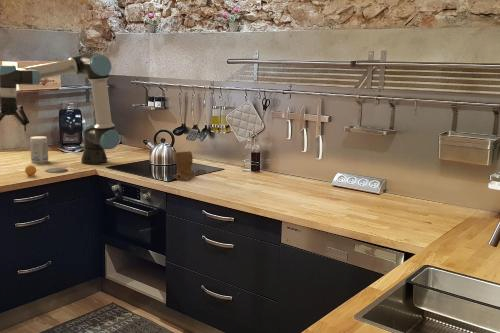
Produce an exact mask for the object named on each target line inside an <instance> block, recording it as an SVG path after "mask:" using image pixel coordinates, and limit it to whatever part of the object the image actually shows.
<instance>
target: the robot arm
mask: <svg viewBox="0 0 500 333" xmlns="http://www.w3.org/2000/svg"><path fill="white" fill-rule="evenodd" d="M111 71H112V62H111V60H110V59H109V57H107V56H106V55H104V54H101V53H85V54H80V55H76V56H72V57H69V58H68V59H65V60H60V61H55V62H47V63H44V64H43V63H41V64H37V65H36V64H35V65H31V66H26V67H20V68H17V67H16V65H14V64H13V65H11V64H1V65H0V111H1V112H0V122H1V121H2V119H3V118H4V117H6V116H14V117H15V118H16V119H17V120H18V122H19V123H20V125H19V130H20V131H19V133H20V134H19V135H20V138H23V139H25V132H26V131H27V128H26V126H27V125H28V124H30V121H29V118H28V116H27V114H26V113H25V110H24V106H23V105H18V101H17V99H18V98H17V94H18V93H17V85H18V86H19V85H21V86H22V85H25V86H27V85H28V86H37V85H40V84H41V81H42V80H43V79H48V78H53V77H59V76H64V75H69V74H73V75H86V76H87V80H88V81H89V82H90V84H91V91H92V99H93V106H94V115H95V116H94V117H95V123H96V124H85V125H84V126H83V153H82V156H81V159H80V162H81V163H82V164H83V165H104V164H107V163H108V157H107V154H106V151H105V150H112V149H115V148H117V146H118V145H119V143H120V141H121V138H120V136H121V135H120V134H119V132H118V131H117V130H116V125H115V123H114V122H113V121H112V114H111V108H110V107H111V106H110V98H109V89H108V80H109V78H110V72H111ZM18 112H19V113H18Z"/></svg>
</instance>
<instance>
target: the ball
mask: <svg viewBox="0 0 500 333" xmlns="http://www.w3.org/2000/svg"><path fill="white" fill-rule="evenodd" d="M24 172H25V174H26V175H27V176H28V177H29V176H34V175H36V174H37V168H36V166H34V165H30V164H29V165H27V166H26V167H25V169H24Z"/></svg>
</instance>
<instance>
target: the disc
mask: <svg viewBox="0 0 500 333" xmlns="http://www.w3.org/2000/svg"><path fill="white" fill-rule="evenodd" d="M44 171H45V172H46V173H48V174H49V173H50V174H58V173H59V174H61V173H65V172H68V171H69V169H67V168H64V167H54V168H53V167H52V168H51V167H50V168H47V169H45V170H44Z"/></svg>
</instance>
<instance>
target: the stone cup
mask: <svg viewBox="0 0 500 333" xmlns="http://www.w3.org/2000/svg"><path fill="white" fill-rule="evenodd" d="M193 157H194V156H193V152H192V151H191V150H190V151H188V150H187V151H176V152H174V162H175V164H176V168H177V172H176V173H175V174H173V175H172V177H173V178H174V179H175V180H178V181H185V180H189V179H191V178H194V177H195V176H197V175H198V173H195V172H193V171H192V165H193V161H194V160H193Z"/></svg>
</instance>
